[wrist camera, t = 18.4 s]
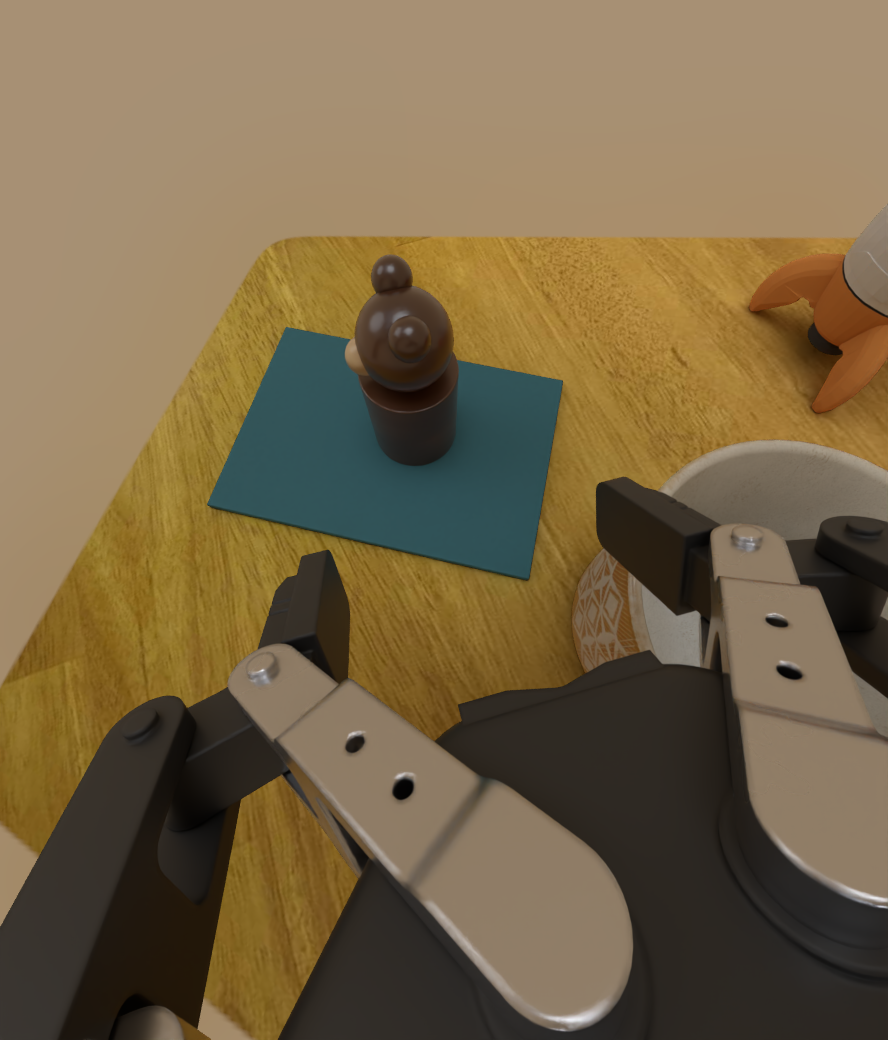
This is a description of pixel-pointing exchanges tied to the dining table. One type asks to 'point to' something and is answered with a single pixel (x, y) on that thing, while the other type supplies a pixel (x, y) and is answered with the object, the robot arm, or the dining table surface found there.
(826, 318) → the toy rocket
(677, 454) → the dining table surface
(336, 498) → the mat
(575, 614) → the planter
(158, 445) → the dining table surface
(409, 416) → the toy teddy
